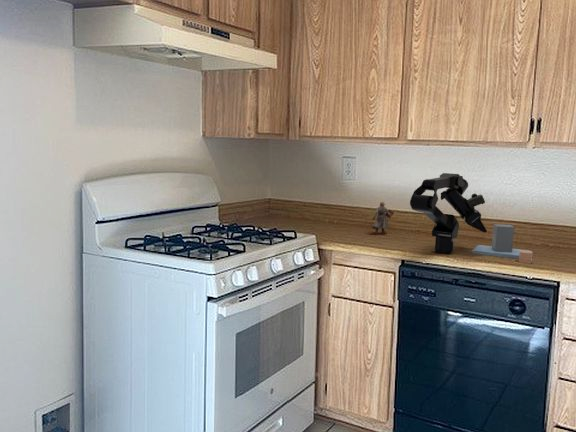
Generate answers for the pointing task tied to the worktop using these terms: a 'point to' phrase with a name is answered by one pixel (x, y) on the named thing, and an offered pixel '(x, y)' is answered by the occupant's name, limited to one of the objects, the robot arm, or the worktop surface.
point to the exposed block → (525, 257)
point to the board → (489, 251)
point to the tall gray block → (502, 238)
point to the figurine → (381, 218)
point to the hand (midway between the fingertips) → (484, 230)
